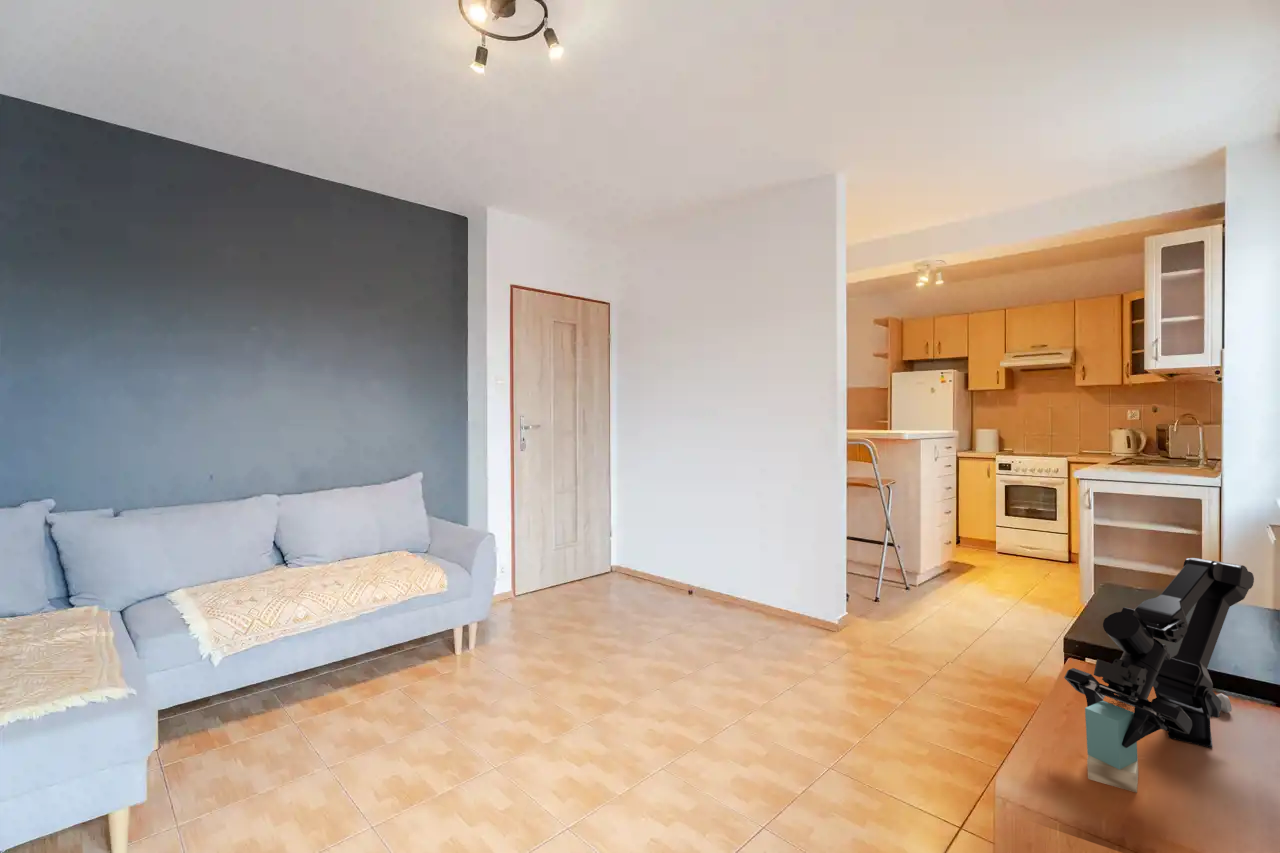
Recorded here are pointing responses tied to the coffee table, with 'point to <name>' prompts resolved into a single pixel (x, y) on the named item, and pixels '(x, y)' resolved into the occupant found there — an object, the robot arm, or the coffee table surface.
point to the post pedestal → (1113, 774)
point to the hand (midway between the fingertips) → (1106, 738)
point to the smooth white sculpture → (1225, 703)
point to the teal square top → (1109, 734)
